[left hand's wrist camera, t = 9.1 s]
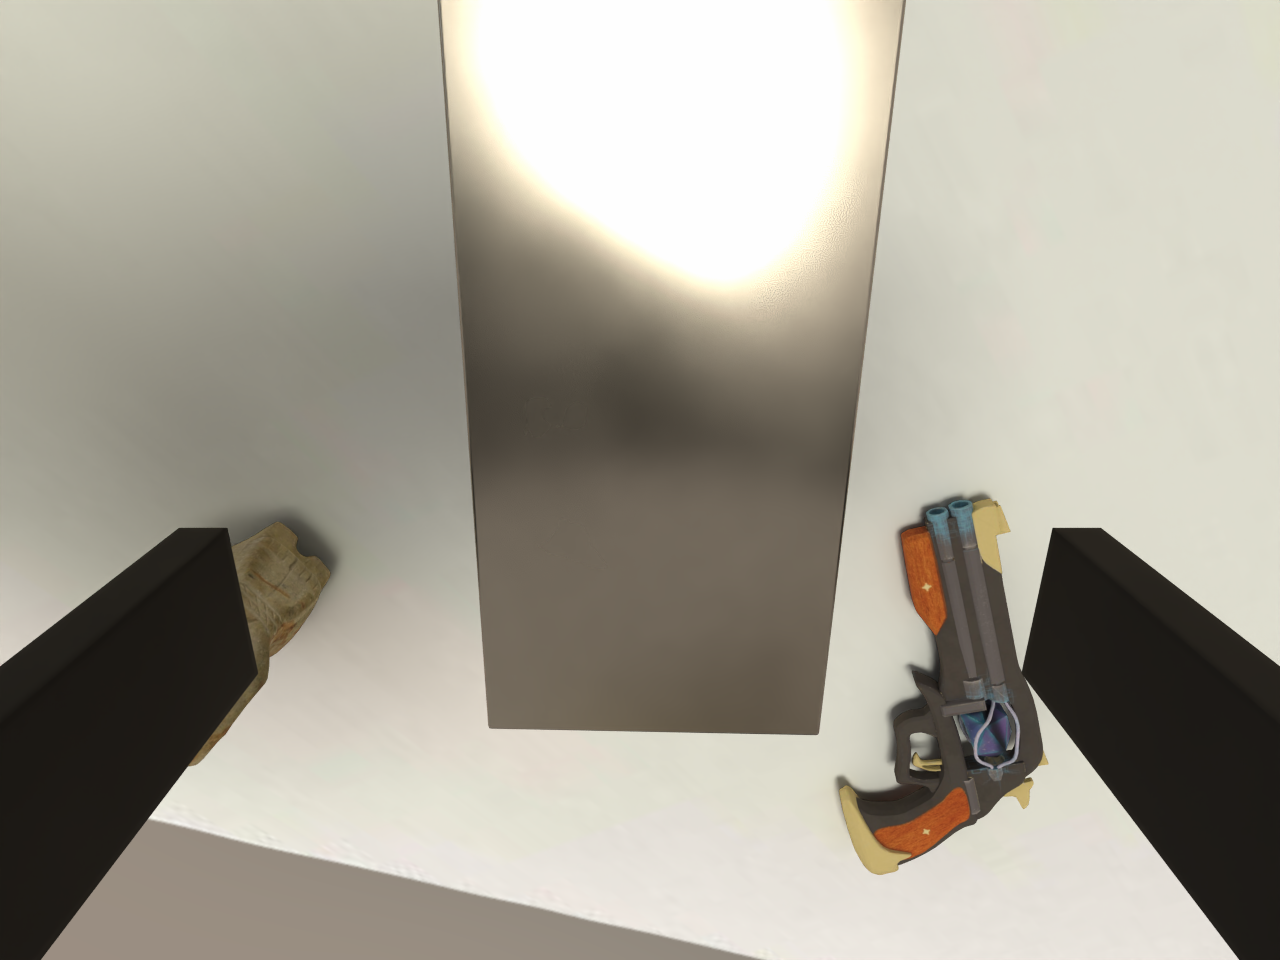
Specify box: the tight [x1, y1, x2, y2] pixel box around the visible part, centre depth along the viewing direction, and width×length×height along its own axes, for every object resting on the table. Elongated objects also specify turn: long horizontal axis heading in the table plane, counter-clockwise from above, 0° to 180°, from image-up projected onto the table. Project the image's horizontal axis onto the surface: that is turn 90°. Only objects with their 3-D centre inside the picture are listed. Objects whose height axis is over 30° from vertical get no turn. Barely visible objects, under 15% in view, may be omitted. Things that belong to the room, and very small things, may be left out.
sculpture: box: [188, 522, 330, 766], centre depth 29 cm, size 6×7×15 cm
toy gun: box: [839, 499, 1048, 875], centre depth 37 cm, size 3×19×10 cm
